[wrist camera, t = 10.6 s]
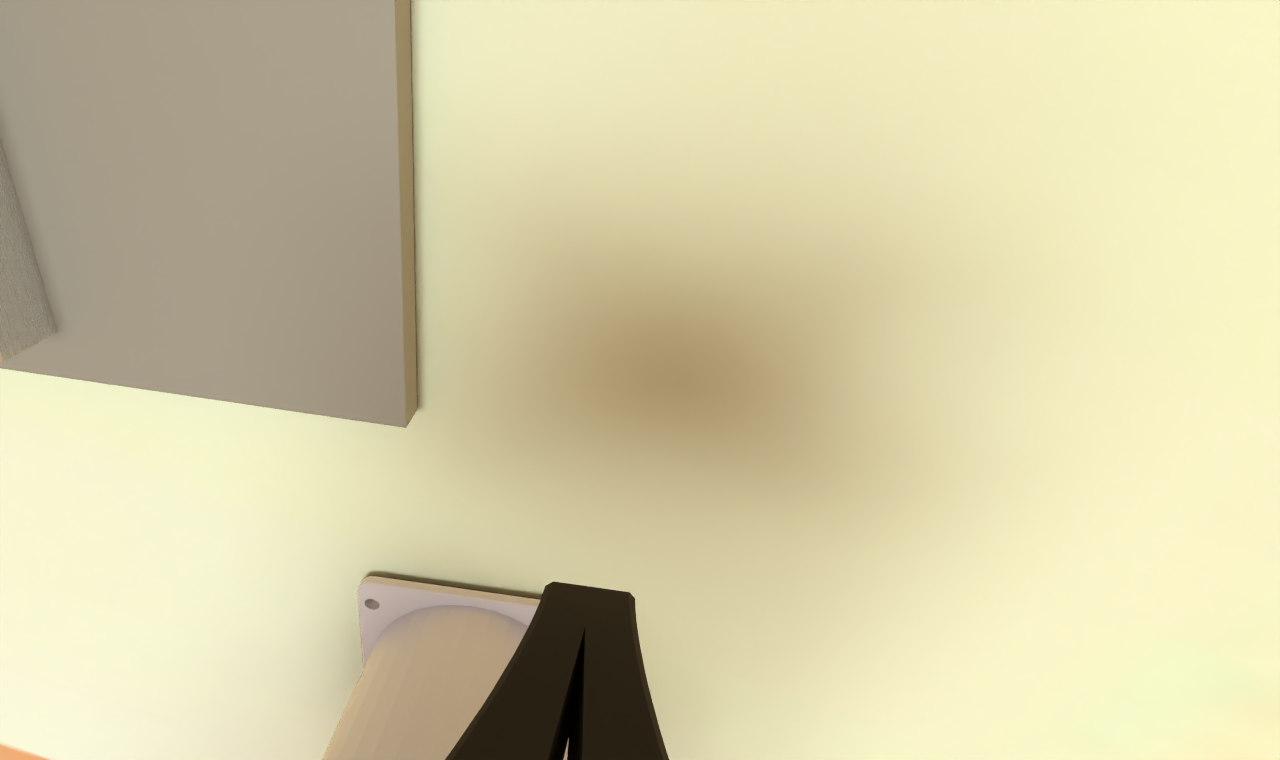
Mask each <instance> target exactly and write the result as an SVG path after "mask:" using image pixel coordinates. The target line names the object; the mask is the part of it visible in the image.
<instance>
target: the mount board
mask: <svg viewBox="0 0 1280 760" xmlns="http://www.w3.org/2000/svg"><path fill="white" fill-rule="evenodd" d="M0 137H1V141H2V144H3V147H4V151H5V154H6V158H7V161H8V164H9V168H10V171H11V174H12V178H13V181H14V185H15V188H16V191H17V195H18V198H19V202H20V205H21V208H22V212H23V215H24V219H25V222H26V225H27V229H28V232H29V235H30V239H31V242H32V246H33V249H34V252H35V256H36V259H37V263H38V266H39V269H40V273H41V276H42V280H43V283H44V286H45V290H46V293H47V296H48V300H49V303H50V307H51V310H52V313H53V317H54V320H55V324H56V327H57V330H58V332H57V333H55V334H53V335H51V336H50V337H48V338H46V339H44V340H43V341H41V342H39V343H37V344H35V345H34V346H32V347H30V348H28V349H27V350H25V351H23V352H21V353H19V354H18V355H16V356H14V357H12V358H10V359H9V360H7V361H5V362H0V368H2V369H9V370H16V371H23V372H30V373H37V374H43V375H50V376H57V377H64V378H71V379H77V380H84V381H91V382H98V383H105V384H112V385H118V386H125V387H132V388H139V389H146V390H152V391H159V392H166V393H173V394H180V395H187V396H193V397H200V398H207V399H214V400H221V401H227V402H234V403H241V404H248V405H255V406H262V407H268V408H275V409H282V410H289V411H296V412H302V413H309V414H316V415H323V416H330V417H337V418H343V419H350V420H357V421H364V422H371V423H377V424H384V425H391V426H398V427H405V428H406V427H407V425H408V424H409V422H410V420H411V419H412V417H413V415H414V414H415V412H416V411H417V370H416V311H415V251H414V192H413V133H412V74H411V15H410V0H0Z"/></svg>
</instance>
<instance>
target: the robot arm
mask: <svg viewBox="0 0 1280 760" xmlns="http://www.w3.org/2000/svg"><path fill="white" fill-rule="evenodd" d="M372 599H374V600H372ZM375 600H376V601H375ZM358 603H359V616H360V629H361V642H362V654H363V667H364V670H363V672H362V675H361V677H360V679H359V681H358V683H357V685H356V688H355V690H354V692H353V694H352V696H351V698H350V701H349V703H348V705H347V707H346V709H345V711H344V713H343V716H342V718H341V720H340V722H339V724H338V726H337V729H336V731H335V733H334V735H333V737H332V739H331V742H330V744H329V746H328V748H327V750H326V752H325V754H324V757H323V759H322V760H566V756H567V749H568V756H567V760H669V758H668V755H667V752H666V749H665V746H664V742H663V739H662V736H661V732H660V729H659V725H658V721H657V718H656V714H655V710H654V706H653V703H652V699H651V695H650V691H649V687H648V683H647V679H646V674H645V670H644V665H643V660H642V654H641V649H640V644H639V637H638V631H637V623H636V612H635V598H634V597H633V596H632V595H631V594H630V593H629V592H623V591H616V590H609V589H602V588H595V587H588V586H581V585H574V584H566V583H559V582H552V583H550V584H548V585H546V586H545V589H544V592H543V595H542V598H541V600H539V599H532V598H525V597H518V596H511V595H504V594H497V593H490V592H483V591H476V590H469V589H462V588H455V587H447V586H440V585H433V584H426V583H419V582H412V581H405V580H398V579H391V578H384V577H377V576H369V577H366V578H364V579H363V580H362V581H361V583H360V585H359V587H358Z"/></svg>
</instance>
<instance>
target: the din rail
mask: <svg viewBox="0 0 1280 760" xmlns="http://www.w3.org/2000/svg"><path fill="white" fill-rule="evenodd" d="M57 332H58V330H57V327H56V324H55V320H54V317H53V313H52V310H51V307H50V303H49V300H48V296H47V293H46V290H45V286H44V283H43V280H42V276H41V273H40V269H39V266H38V263H37V259H36V256H35V252H34V249H33V246H32V242H31V239H30V235H29V232H28V229H27V225H26V222H25V219H24V215H23V212H22V208H21V205H20V202H19V198H18V195H17V191H16V188H15V185H14V181H13V178H12V174H11V171H10V168H9V164H8V161H7V158H6V154H5V151H4V147H3V144H2V141H1V137H0V362H5V361H7V360H9V359H10V358H12V357H14V356H16V355H18V354H19V353H21V352H23V351H25V350H27V349H28V348H30V347H32V346H34V345H35V344H37V343H39V342H41V341H43V340H44V339H46V338H48V337H50V336H51V335H53V334H55V333H57Z"/></svg>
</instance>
